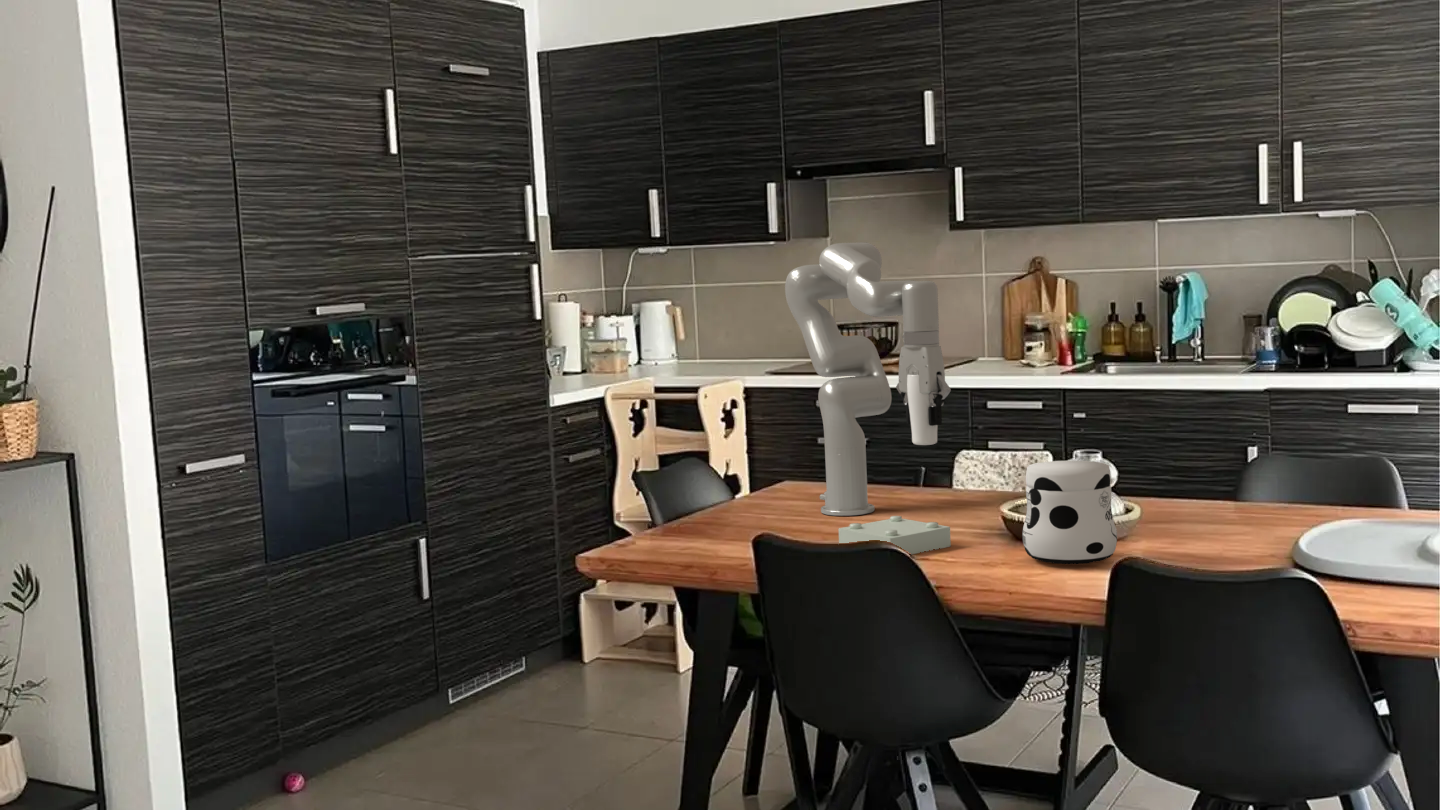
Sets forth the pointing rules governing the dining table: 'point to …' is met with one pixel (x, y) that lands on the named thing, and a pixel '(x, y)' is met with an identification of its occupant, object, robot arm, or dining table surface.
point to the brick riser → (899, 534)
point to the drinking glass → (920, 413)
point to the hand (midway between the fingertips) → (924, 423)
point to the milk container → (1069, 512)
